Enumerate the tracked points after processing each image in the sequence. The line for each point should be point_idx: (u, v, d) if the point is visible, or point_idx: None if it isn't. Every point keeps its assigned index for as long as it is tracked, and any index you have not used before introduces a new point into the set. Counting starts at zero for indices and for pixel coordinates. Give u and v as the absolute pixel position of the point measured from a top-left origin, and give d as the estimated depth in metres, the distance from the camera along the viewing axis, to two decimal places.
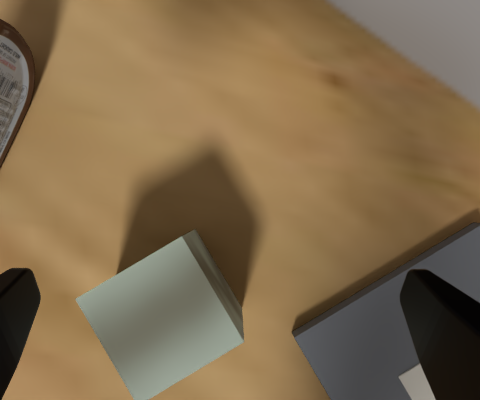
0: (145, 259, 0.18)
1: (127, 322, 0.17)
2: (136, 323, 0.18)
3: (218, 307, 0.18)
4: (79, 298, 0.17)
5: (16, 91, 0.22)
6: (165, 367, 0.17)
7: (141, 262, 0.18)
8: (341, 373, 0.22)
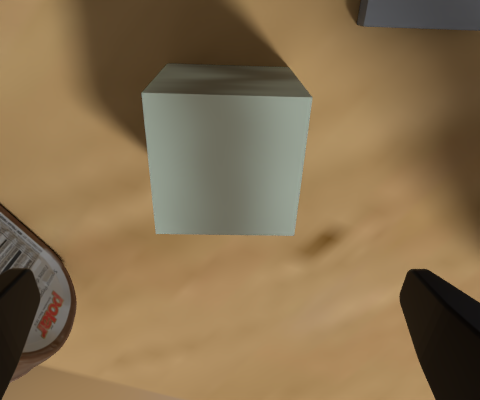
0: (149, 149, 0.14)
1: (208, 202, 0.15)
2: (215, 195, 0.15)
3: (254, 101, 0.13)
4: (157, 230, 0.15)
5: None
6: (277, 193, 0.15)
7: (150, 155, 0.14)
8: None
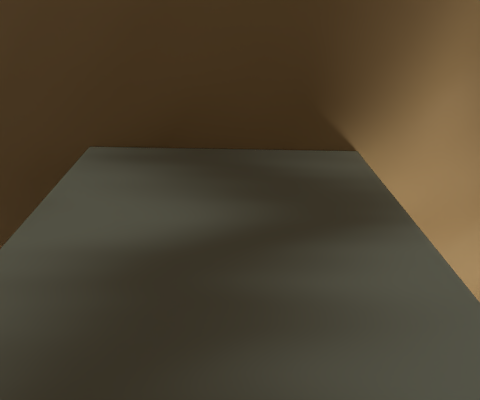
0: None
1: None
2: None
3: None
4: None
5: None
6: None
7: None
8: None
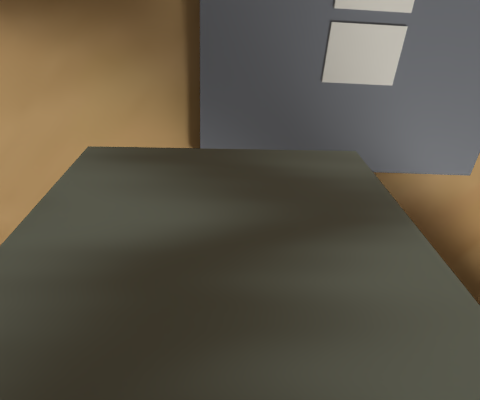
0: None
1: None
2: None
3: None
4: None
5: None
6: None
7: None
8: (270, 142, 0.17)
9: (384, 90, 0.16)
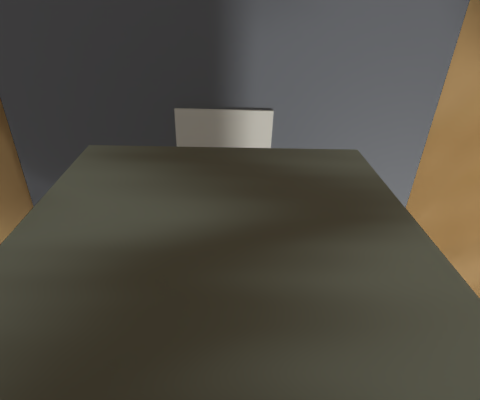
0: None
1: None
2: None
3: None
4: None
5: None
6: None
7: None
8: None
9: None
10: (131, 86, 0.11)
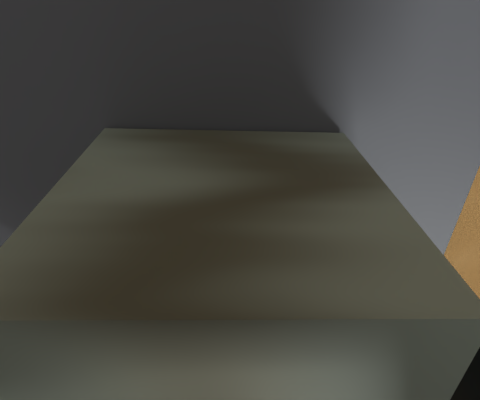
0: None
1: None
2: None
3: (309, 332, 0.04)
4: None
5: None
6: None
7: None
8: None
9: None
10: (107, 115, 0.09)
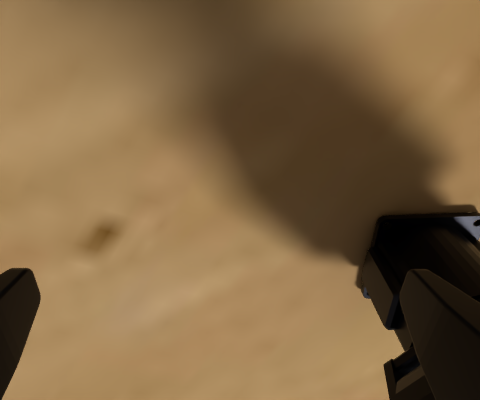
0: None
1: None
2: None
3: None
4: None
5: None
6: None
7: None
8: None
9: None
10: None
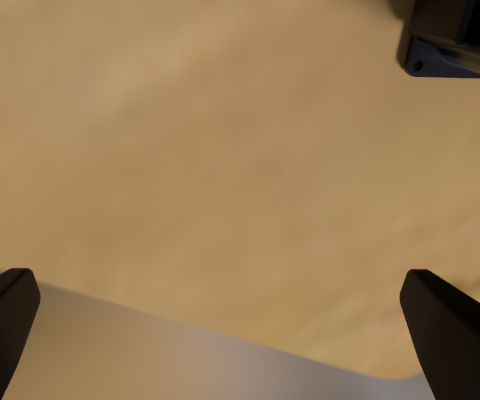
0: None
1: None
2: None
3: None
4: None
5: None
6: None
7: None
8: None
9: None
10: None
